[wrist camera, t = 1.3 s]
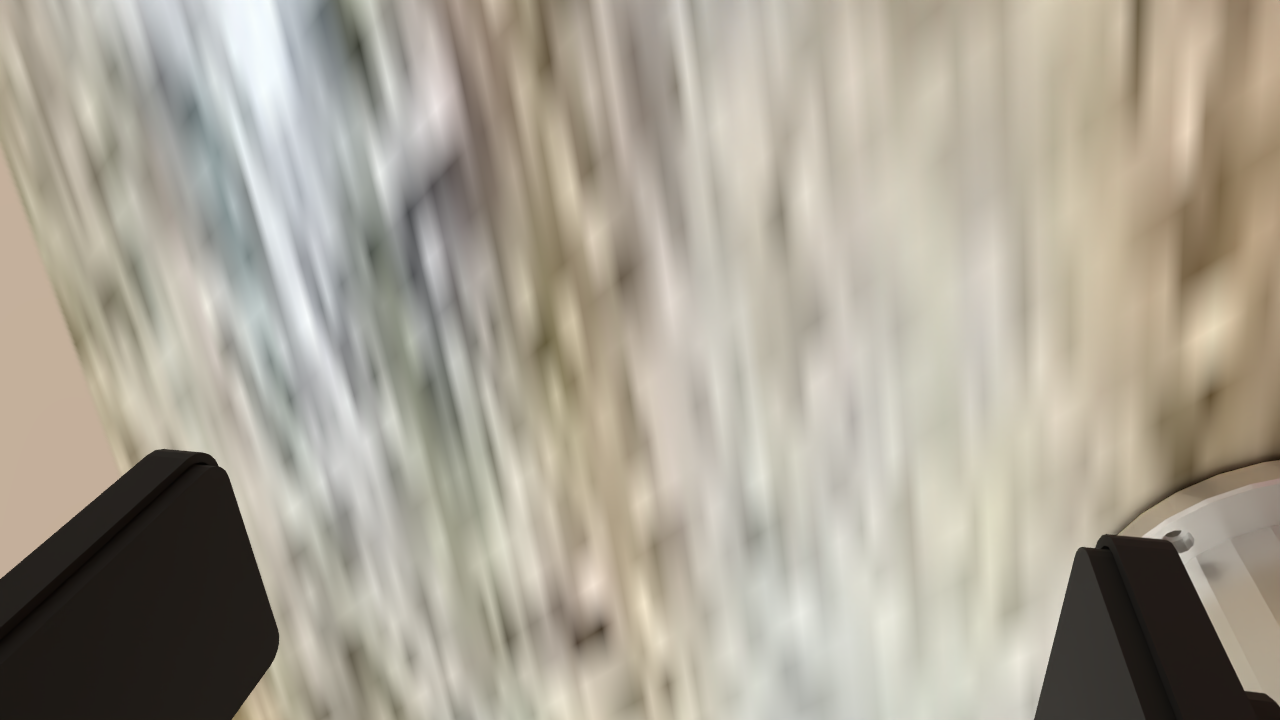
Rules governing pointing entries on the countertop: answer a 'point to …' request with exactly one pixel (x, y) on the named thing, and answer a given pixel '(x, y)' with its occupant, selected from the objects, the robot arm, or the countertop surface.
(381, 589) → the countertop surface
